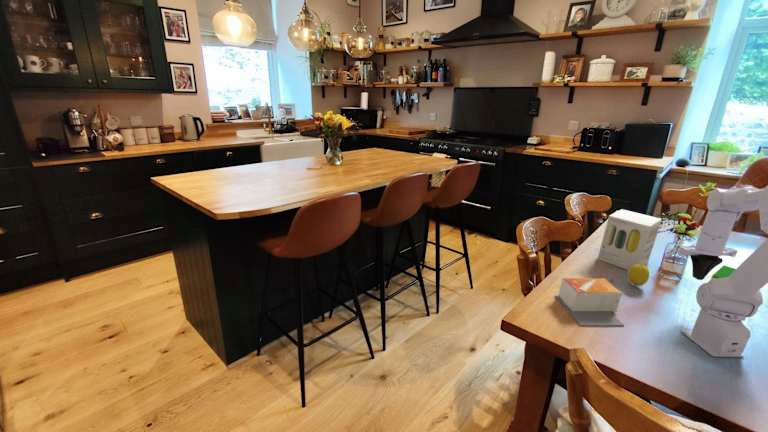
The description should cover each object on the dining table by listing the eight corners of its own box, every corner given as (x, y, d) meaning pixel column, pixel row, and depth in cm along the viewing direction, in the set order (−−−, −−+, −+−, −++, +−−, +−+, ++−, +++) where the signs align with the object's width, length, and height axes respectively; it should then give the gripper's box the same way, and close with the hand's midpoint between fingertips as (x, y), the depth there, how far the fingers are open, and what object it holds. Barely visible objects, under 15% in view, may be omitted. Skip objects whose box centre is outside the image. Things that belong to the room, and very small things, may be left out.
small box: (622, 292, 99) (577, 292, 98) (616, 312, 101) (572, 312, 100) (604, 277, 106) (562, 277, 106) (599, 296, 109) (557, 296, 108)
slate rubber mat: (623, 326, 96) (624, 325, 95) (580, 325, 95) (580, 324, 95) (593, 297, 109) (593, 296, 109) (554, 296, 108) (555, 295, 108)
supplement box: (596, 258, 134) (607, 215, 128) (609, 250, 142) (621, 208, 136) (636, 273, 124) (651, 226, 118) (648, 262, 132) (663, 218, 126)
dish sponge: (748, 279, 124) (750, 273, 123) (737, 291, 116) (740, 284, 115) (721, 271, 129) (723, 265, 128) (709, 281, 121) (712, 275, 121)
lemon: (648, 291, 113) (655, 269, 110) (629, 289, 114) (636, 266, 111) (640, 282, 118) (647, 261, 115) (621, 280, 119) (628, 259, 116)
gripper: (726, 228, 100) (709, 271, 105) (676, 227, 99) (661, 270, 104) (751, 238, 93) (732, 284, 98) (698, 237, 93) (681, 283, 97)
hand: (697, 278), depth 101 cm, fingers closed
